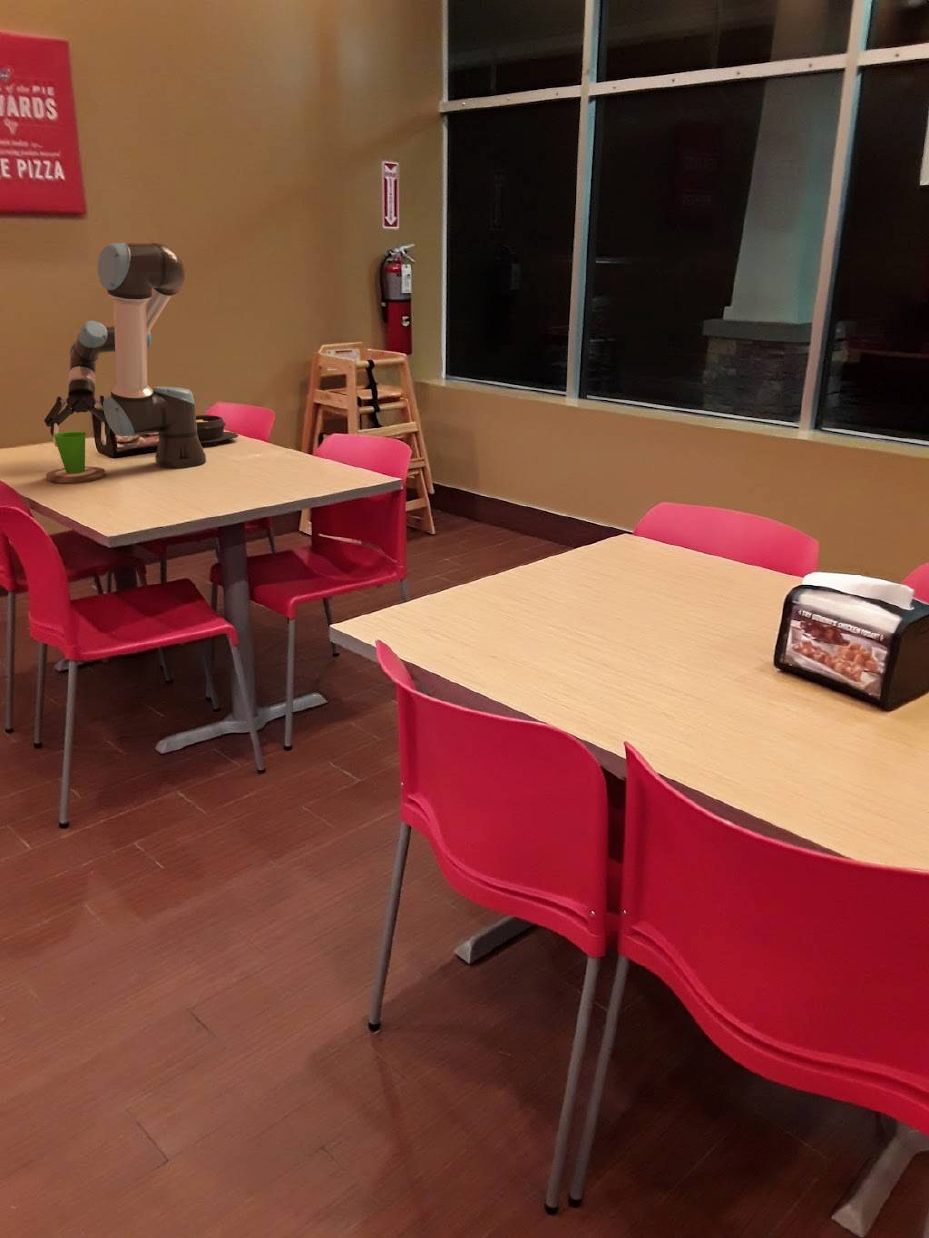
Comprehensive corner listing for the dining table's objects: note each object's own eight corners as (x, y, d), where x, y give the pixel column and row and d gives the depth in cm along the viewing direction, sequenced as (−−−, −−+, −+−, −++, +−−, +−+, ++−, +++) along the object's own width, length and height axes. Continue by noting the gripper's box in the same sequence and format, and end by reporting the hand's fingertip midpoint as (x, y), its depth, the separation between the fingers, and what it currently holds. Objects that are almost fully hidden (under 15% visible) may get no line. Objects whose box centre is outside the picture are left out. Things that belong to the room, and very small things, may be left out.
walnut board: (117, 473, 279) (116, 468, 278) (79, 485, 265) (78, 480, 264) (73, 469, 284) (72, 464, 283) (34, 481, 270) (33, 475, 269)
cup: (97, 468, 278) (91, 431, 274) (82, 475, 269) (77, 437, 265) (68, 468, 279) (62, 431, 274) (53, 475, 270) (46, 436, 266)
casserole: (172, 451, 310) (169, 426, 307) (158, 442, 325) (155, 417, 321) (246, 444, 321) (244, 419, 318) (229, 435, 336) (227, 411, 333)
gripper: (126, 392, 295) (125, 449, 287) (42, 394, 291) (39, 452, 283) (121, 376, 288) (120, 434, 280) (35, 379, 284) (32, 437, 276)
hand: (79, 443), depth 281 cm, fingers open, 13 cm apart
